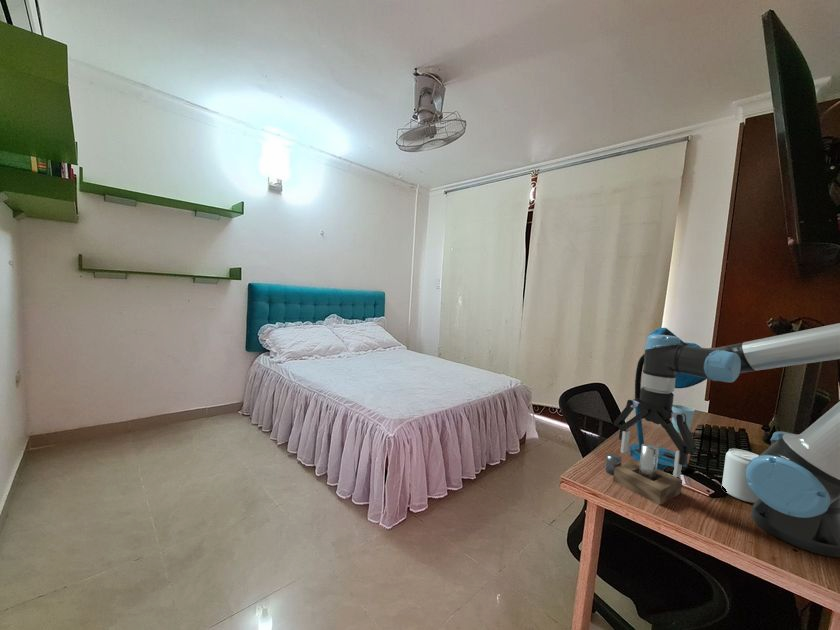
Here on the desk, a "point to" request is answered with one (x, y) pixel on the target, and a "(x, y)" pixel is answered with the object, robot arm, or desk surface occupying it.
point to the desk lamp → (664, 455)
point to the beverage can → (738, 475)
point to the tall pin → (648, 461)
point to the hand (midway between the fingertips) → (648, 462)
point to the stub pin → (612, 462)
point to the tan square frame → (648, 483)
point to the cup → (683, 410)
